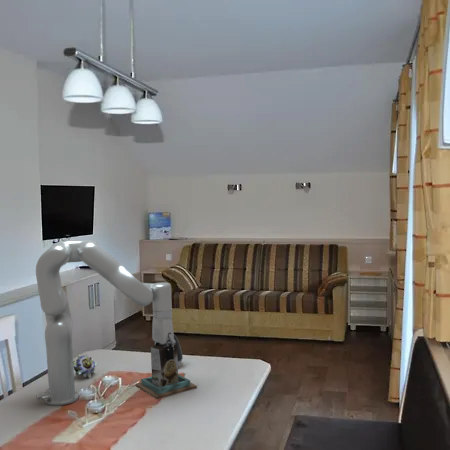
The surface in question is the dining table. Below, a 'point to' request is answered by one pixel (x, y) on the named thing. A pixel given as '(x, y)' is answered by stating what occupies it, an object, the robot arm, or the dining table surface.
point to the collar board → (165, 387)
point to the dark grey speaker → (178, 351)
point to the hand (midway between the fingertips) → (164, 356)
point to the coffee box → (163, 366)
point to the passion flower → (84, 366)
